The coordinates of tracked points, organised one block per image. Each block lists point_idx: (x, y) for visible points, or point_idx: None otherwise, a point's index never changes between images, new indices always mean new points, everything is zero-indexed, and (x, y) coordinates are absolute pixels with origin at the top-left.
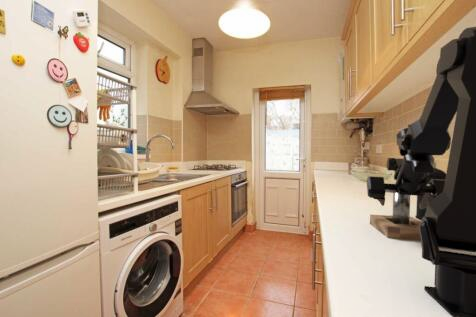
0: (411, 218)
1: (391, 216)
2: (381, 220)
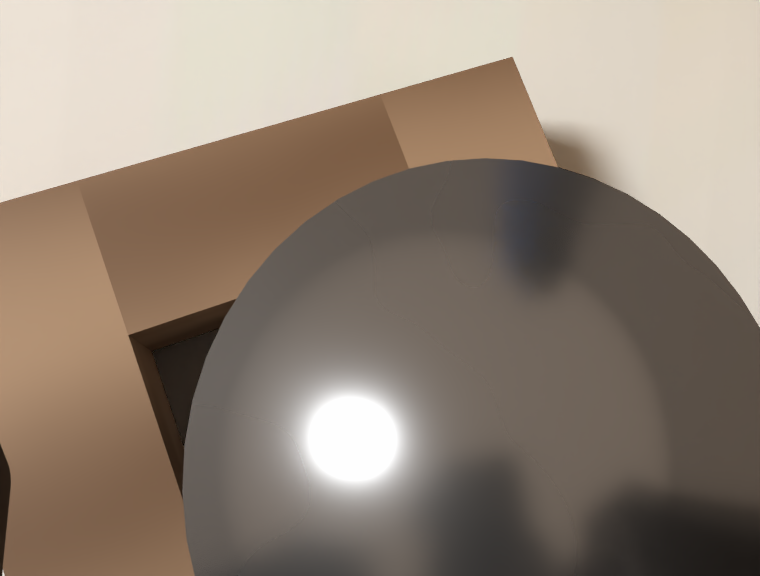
0: (500, 158)
1: (242, 182)
2: (55, 565)
